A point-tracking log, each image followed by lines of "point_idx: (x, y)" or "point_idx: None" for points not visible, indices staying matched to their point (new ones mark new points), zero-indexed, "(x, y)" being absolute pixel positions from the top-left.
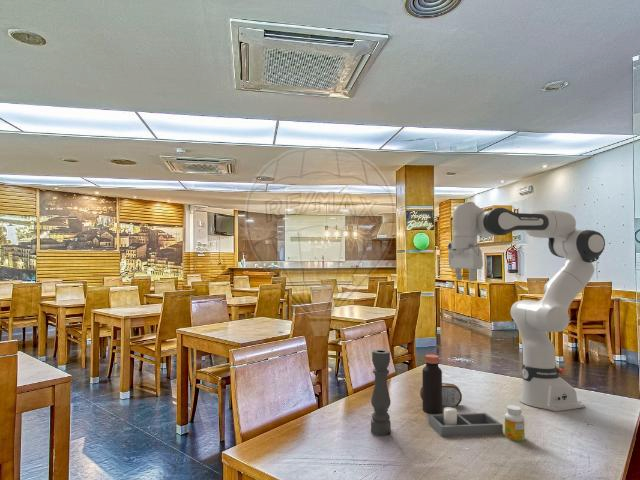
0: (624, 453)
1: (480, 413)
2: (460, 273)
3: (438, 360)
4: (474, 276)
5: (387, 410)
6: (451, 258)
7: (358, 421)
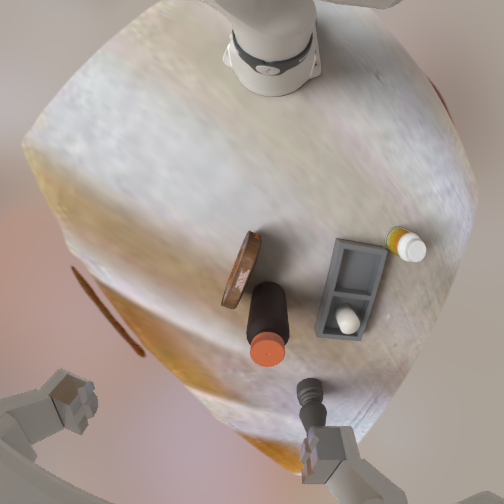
0: (455, 133)
1: (340, 253)
2: (30, 408)
3: (282, 341)
4: (364, 461)
5: (319, 401)
6: None
7: (269, 397)
